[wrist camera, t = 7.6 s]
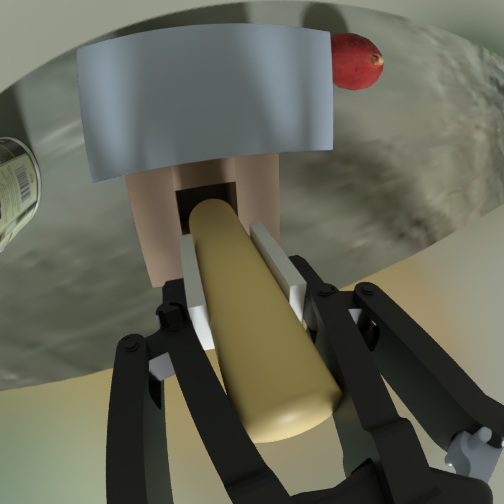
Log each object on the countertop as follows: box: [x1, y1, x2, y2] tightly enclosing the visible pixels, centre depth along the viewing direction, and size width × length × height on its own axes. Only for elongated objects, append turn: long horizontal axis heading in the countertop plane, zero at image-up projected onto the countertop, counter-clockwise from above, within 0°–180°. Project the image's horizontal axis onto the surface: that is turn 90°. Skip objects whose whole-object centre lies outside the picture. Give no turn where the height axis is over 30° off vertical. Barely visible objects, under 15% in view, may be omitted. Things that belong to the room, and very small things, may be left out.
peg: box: [189, 199, 343, 443], centre depth 14 cm, size 4×4×16 cm
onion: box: [330, 33, 384, 90], centre depth 19 cm, size 6×6×8 cm
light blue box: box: [77, 23, 333, 183], centre depth 16 cm, size 12×7×13 cm, turn 93°
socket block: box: [125, 153, 280, 288], centre depth 24 cm, size 12×12×5 cm
